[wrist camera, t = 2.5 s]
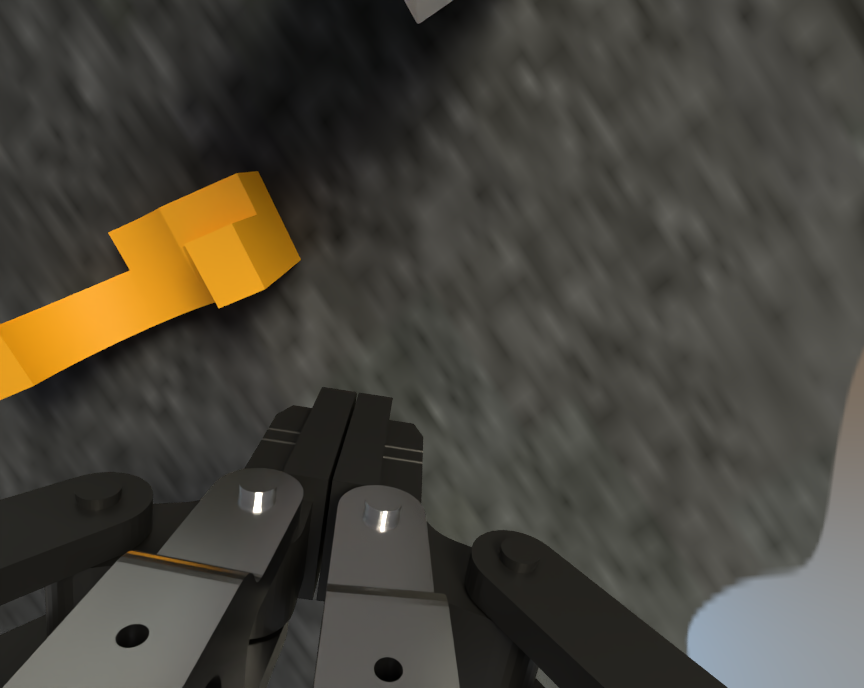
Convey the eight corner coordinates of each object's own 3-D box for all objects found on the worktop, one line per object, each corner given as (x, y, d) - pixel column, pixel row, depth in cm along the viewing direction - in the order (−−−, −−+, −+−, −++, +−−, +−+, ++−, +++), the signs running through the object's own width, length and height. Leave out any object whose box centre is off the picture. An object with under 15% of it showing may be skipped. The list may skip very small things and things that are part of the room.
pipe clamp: (259, 171, 26) (207, 176, 20) (301, 259, 28) (265, 289, 21) (34, 270, 28) (-78, 303, 22) (85, 350, 29) (-8, 403, 23)
